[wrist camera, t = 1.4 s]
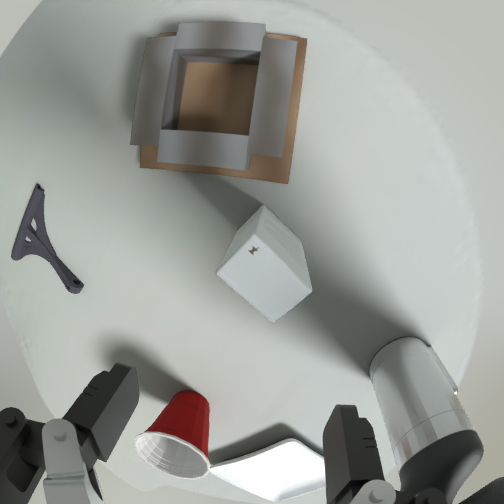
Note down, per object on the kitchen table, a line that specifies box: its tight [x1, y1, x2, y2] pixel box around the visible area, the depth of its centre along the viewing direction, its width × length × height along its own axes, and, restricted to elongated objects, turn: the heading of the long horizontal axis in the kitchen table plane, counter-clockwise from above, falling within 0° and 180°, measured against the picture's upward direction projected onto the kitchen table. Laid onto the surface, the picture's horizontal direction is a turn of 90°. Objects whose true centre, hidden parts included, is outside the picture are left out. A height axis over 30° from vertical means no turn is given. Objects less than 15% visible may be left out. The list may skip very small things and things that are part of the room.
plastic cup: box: [134, 391, 210, 479], centre depth 35 cm, size 11×11×12 cm
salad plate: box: [210, 438, 326, 502], centre depth 44 cm, size 21×21×3 cm
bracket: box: [11, 184, 84, 294], centre depth 35 cm, size 14×15×3 cm
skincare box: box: [216, 205, 313, 323], centre depth 26 cm, size 6×4×12 cm
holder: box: [130, 22, 307, 184], centre depth 25 cm, size 16×16×6 cm
